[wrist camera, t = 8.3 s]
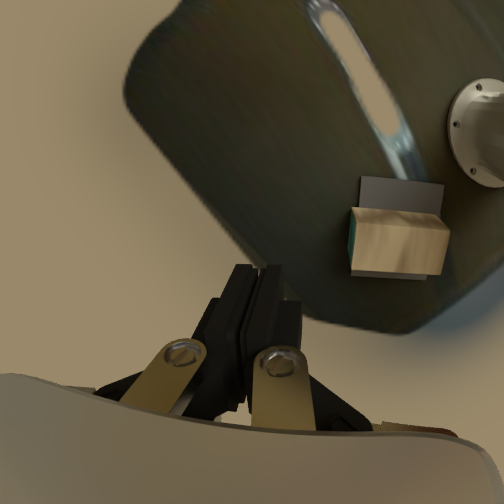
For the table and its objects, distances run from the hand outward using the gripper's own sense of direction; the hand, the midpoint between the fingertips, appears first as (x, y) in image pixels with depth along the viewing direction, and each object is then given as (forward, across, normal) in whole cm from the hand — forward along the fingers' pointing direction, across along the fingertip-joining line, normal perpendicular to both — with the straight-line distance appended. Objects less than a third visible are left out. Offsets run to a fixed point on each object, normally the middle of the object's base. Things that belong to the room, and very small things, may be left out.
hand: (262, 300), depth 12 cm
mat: (+25, -11, +7) cm, 28 cm away
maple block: (+22, -6, +7) cm, 24 cm away
